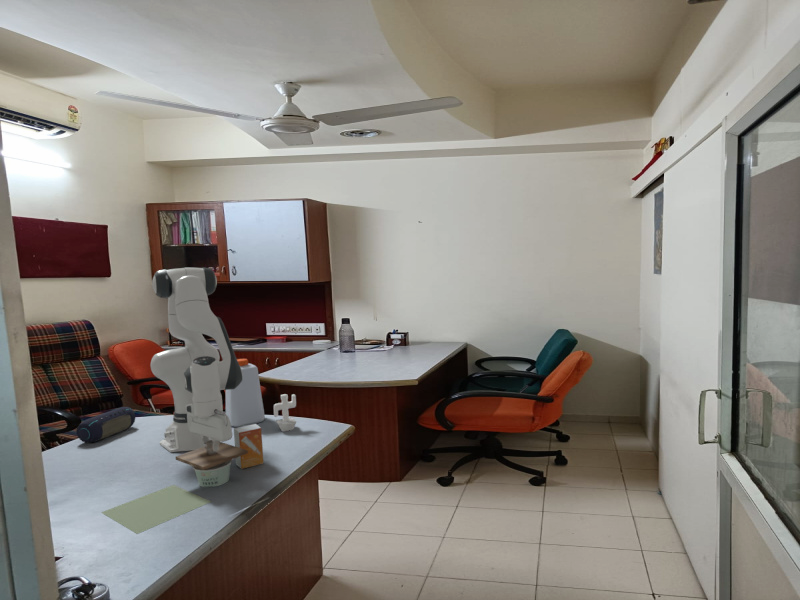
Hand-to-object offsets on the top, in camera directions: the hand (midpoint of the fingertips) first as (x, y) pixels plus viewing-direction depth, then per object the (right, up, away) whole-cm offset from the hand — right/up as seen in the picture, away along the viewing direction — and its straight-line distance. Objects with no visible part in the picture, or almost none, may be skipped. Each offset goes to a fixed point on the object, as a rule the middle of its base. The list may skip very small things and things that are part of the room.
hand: (211, 449), depth 172 cm
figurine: (+13, -6, +52) cm, 54 cm away
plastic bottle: (-8, -6, +67) cm, 67 cm away
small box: (+8, -10, +15) cm, 20 cm away
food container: (+1, -11, +1) cm, 11 cm away
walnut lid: (0, -2, 0) cm, 2 cm away
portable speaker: (-64, -10, +57) cm, 86 cm away
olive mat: (-10, -13, -16) cm, 23 cm away
